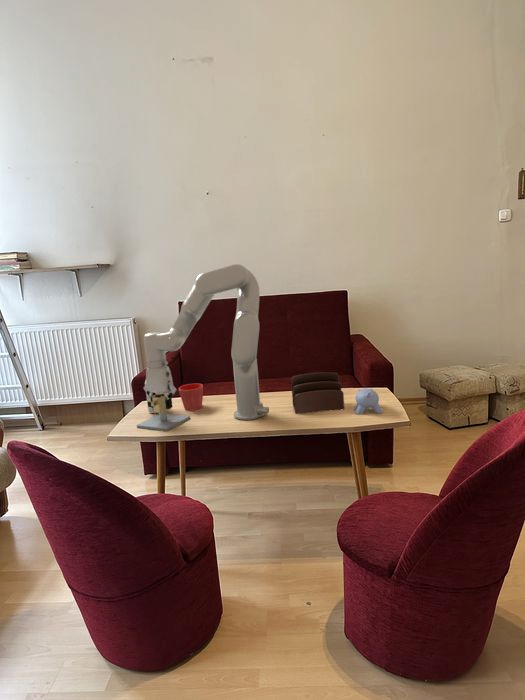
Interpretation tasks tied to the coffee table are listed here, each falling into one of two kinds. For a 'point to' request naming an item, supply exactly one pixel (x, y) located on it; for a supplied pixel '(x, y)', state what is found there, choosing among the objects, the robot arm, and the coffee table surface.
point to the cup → (159, 403)
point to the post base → (163, 421)
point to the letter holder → (317, 392)
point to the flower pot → (191, 396)
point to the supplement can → (150, 403)
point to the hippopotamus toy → (367, 401)
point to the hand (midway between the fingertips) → (162, 407)
